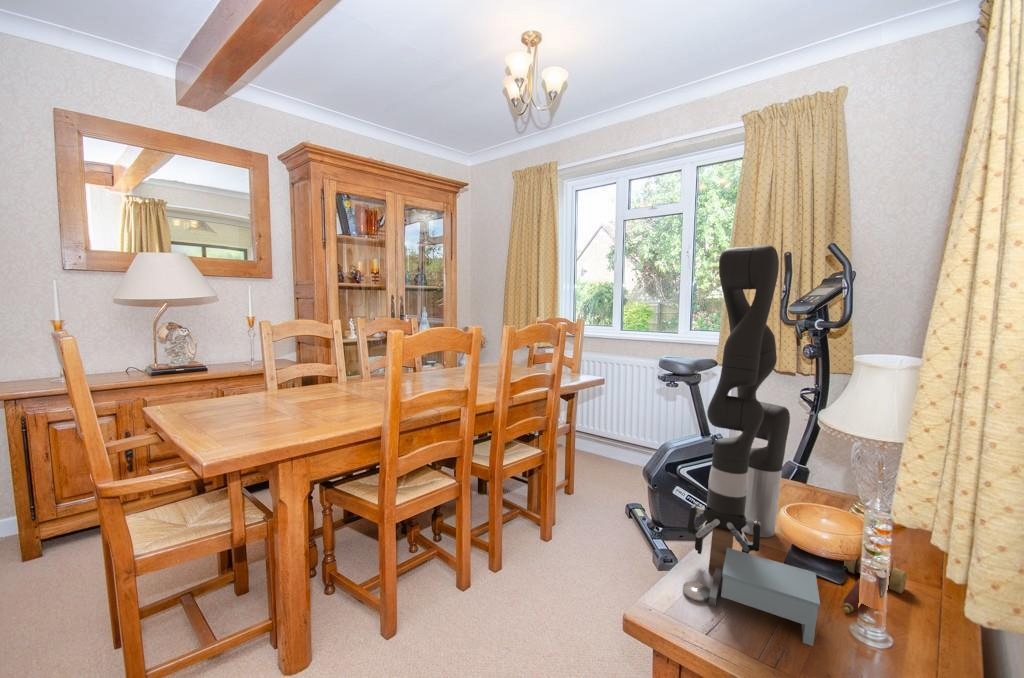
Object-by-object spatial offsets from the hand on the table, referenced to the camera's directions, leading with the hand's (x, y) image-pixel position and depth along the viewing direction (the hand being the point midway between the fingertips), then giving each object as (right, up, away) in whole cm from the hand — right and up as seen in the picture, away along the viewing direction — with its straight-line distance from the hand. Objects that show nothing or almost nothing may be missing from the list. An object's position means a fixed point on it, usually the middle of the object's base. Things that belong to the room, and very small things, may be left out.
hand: (720, 558), depth 101 cm
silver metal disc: (-9, -4, -8) cm, 12 cm away
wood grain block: (-3, -3, -5) cm, 7 cm away
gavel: (+27, -5, -6) cm, 28 cm away
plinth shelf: (+3, -4, -13) cm, 14 cm away
